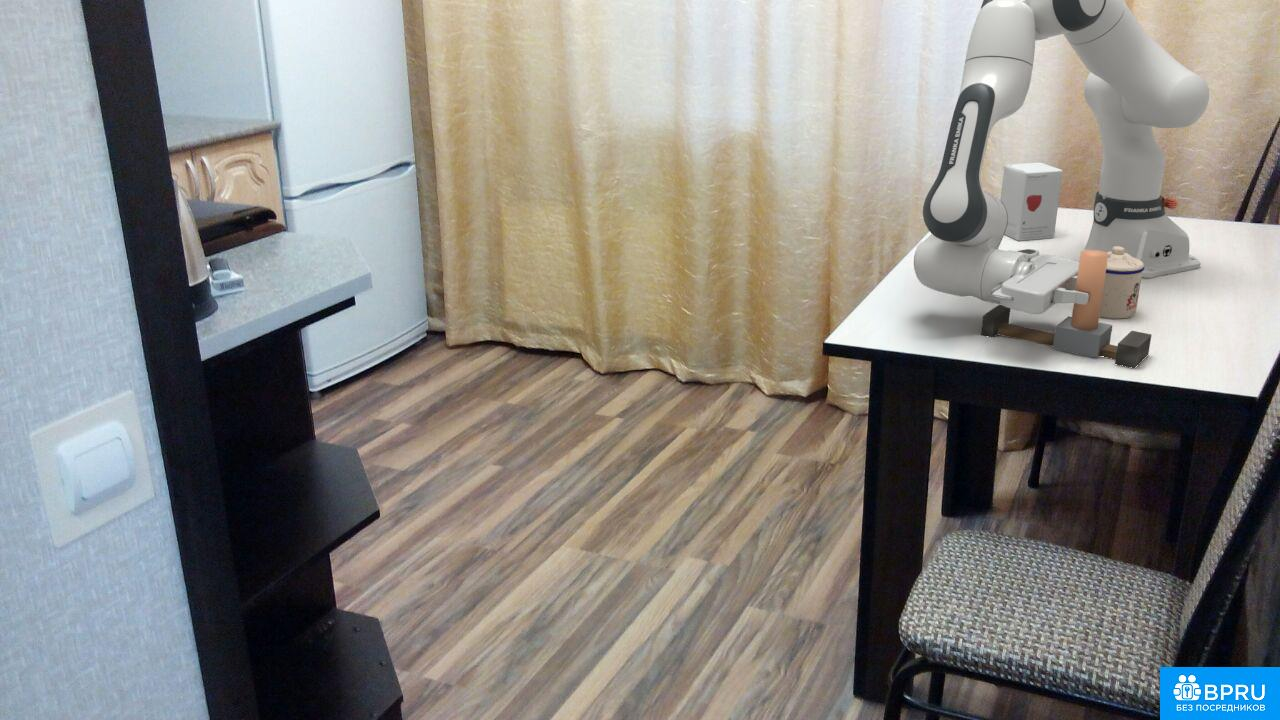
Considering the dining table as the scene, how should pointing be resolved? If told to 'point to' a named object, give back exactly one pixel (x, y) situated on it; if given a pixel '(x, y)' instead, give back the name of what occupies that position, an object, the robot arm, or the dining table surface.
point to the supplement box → (1031, 200)
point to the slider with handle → (1086, 310)
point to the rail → (997, 322)
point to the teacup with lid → (1121, 285)
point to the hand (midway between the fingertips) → (1094, 294)
